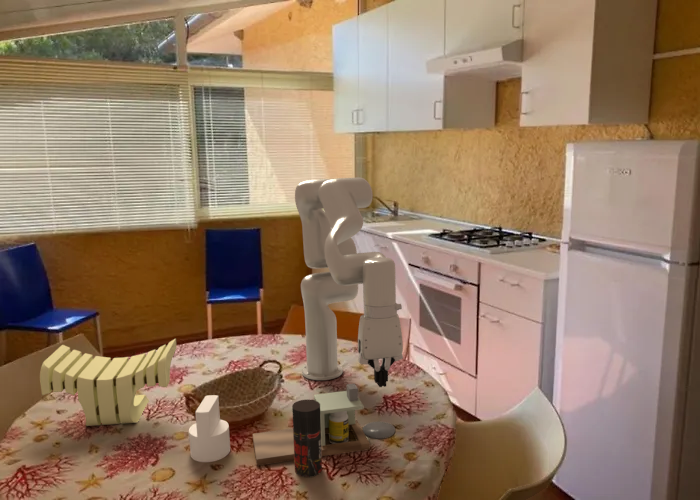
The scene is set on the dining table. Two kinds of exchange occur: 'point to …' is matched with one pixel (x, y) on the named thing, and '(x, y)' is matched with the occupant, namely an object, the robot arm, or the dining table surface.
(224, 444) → the base with upright slab
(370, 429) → the coaster
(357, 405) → the cover
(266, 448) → the board
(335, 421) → the supplement bottle
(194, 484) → the dining table surface
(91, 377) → the slatted curved stool
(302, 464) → the deodorant
